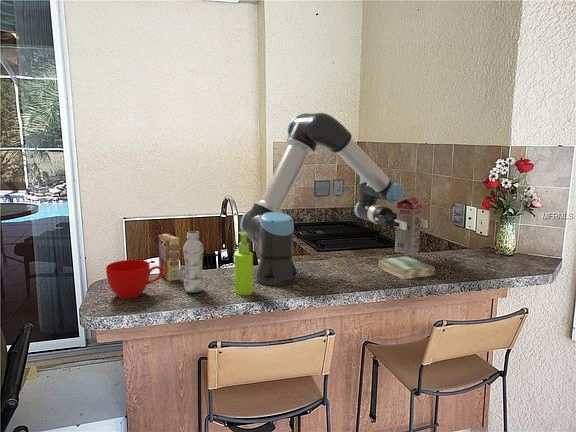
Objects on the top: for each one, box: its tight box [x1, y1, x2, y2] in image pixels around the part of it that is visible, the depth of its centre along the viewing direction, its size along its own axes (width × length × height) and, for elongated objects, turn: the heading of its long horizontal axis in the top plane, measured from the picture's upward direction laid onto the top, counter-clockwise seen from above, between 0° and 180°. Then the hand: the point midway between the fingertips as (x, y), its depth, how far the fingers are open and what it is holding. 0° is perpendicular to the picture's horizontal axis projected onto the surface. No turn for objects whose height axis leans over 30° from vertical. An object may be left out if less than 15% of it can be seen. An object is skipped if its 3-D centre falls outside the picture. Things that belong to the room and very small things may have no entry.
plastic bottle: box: [182, 230, 206, 294], centre depth 149 cm, size 6×7×20 cm
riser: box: [377, 255, 436, 280], centre depth 176 cm, size 14×16×3 cm
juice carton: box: [394, 193, 423, 255], centre depth 173 cm, size 7×7×22 cm
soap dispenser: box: [234, 231, 254, 296], centre depth 150 cm, size 6×7×20 cm
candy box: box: [157, 233, 181, 282], centre depth 164 cm, size 9×4×15 cm, turn 39°
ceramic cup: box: [105, 259, 162, 300], centre depth 147 cm, size 13×17×10 cm
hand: (416, 225), depth 169 cm, fingers closed on juice carton, 9 cm apart
